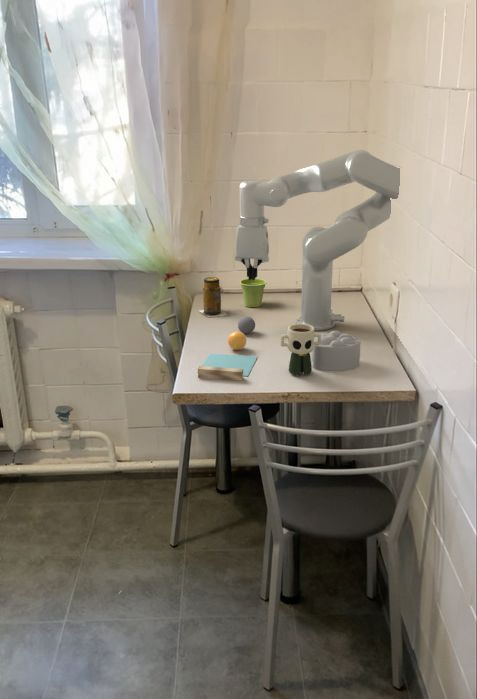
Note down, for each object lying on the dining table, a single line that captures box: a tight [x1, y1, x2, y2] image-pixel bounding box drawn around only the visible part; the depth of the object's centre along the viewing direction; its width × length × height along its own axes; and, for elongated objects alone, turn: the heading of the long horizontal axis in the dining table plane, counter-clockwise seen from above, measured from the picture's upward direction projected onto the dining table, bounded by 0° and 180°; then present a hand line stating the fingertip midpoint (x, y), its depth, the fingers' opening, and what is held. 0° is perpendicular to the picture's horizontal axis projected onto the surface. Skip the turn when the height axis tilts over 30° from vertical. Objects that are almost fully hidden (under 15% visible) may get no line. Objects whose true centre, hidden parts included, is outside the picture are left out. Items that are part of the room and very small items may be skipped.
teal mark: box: [196, 352, 258, 377], centre depth 185 cm, size 14×14×1 cm
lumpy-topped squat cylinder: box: [311, 330, 361, 373], centre depth 183 cm, size 10×13×9 cm
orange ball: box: [227, 330, 247, 351], centre depth 195 cm, size 6×6×6 cm
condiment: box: [198, 276, 228, 318], centre depth 226 cm, size 7×8×12 cm
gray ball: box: [237, 316, 256, 335], centre depth 208 cm, size 6×6×6 cm
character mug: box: [280, 323, 322, 376], centre depth 177 cm, size 11×7×13 cm, turn 94°
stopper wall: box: [197, 365, 244, 382], centre depth 177 cm, size 12×2×2 cm, turn 78°
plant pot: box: [239, 277, 267, 308], centre depth 234 cm, size 9×9×9 cm
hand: (252, 279), depth 212 cm, fingers closed
